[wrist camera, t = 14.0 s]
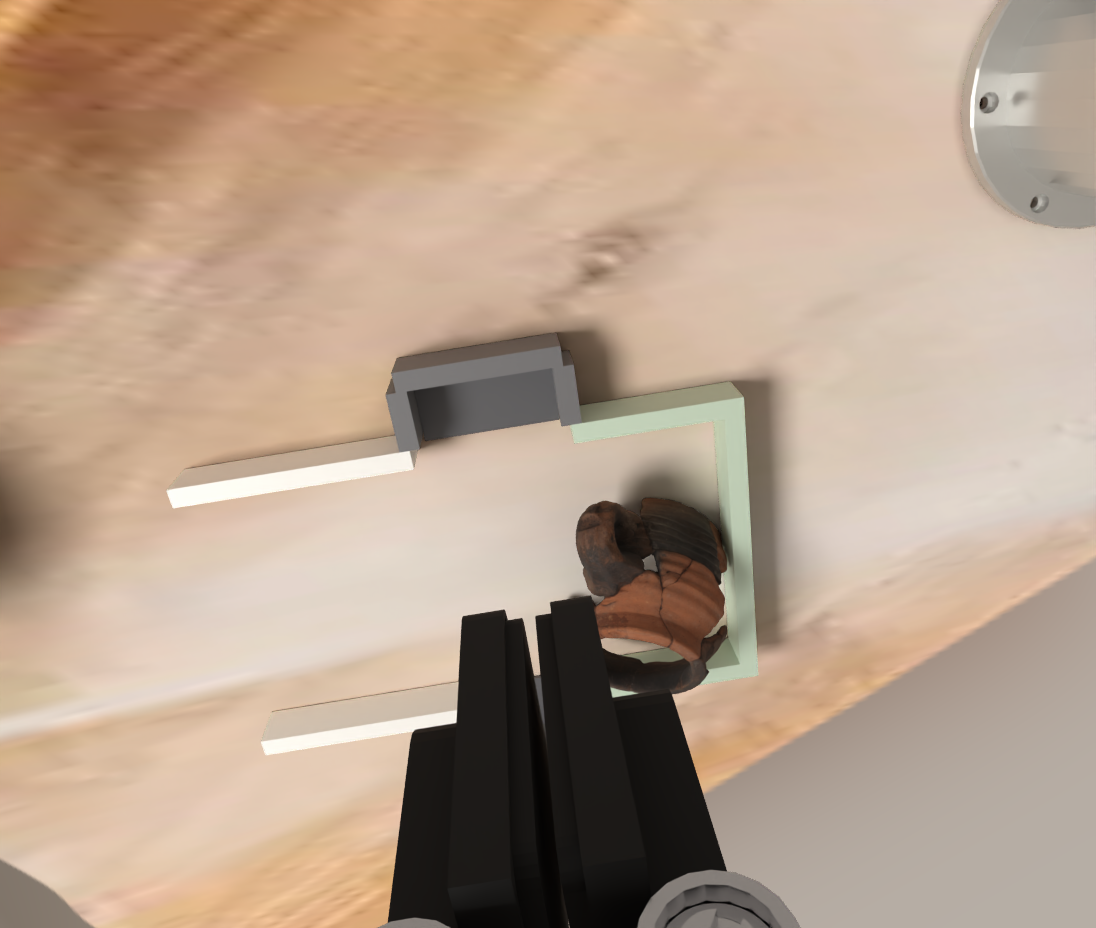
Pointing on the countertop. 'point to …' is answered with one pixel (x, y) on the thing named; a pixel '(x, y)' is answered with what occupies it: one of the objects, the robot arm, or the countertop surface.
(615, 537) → the pottery mug
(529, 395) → the pale green flat frame
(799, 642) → the countertop surface
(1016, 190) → the robot arm
